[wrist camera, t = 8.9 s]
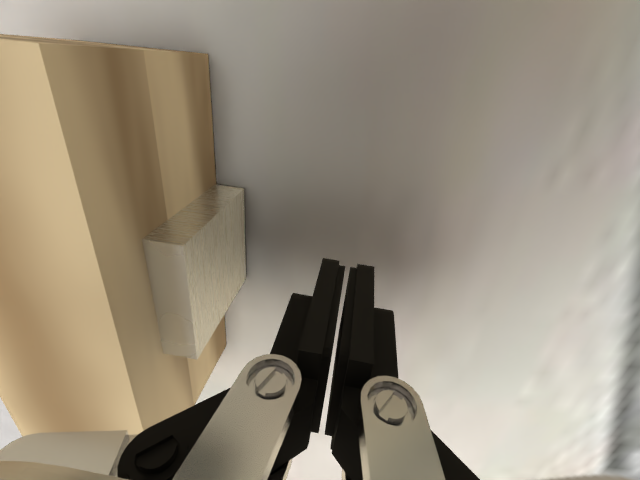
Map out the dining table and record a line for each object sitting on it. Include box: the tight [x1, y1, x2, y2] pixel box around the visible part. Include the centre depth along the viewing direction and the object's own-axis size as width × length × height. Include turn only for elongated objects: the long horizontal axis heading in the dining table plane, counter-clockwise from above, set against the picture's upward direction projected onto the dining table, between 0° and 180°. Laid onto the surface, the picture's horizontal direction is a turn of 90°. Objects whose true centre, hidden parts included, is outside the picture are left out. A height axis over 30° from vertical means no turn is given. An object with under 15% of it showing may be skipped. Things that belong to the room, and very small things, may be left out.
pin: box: [142, 185, 246, 359], centre depth 13 cm, size 8×4×5 cm, turn 85°
